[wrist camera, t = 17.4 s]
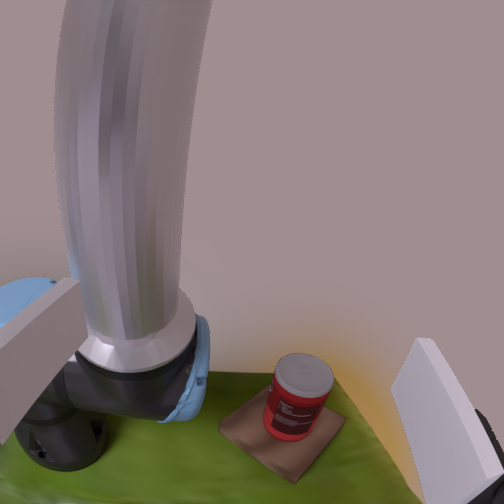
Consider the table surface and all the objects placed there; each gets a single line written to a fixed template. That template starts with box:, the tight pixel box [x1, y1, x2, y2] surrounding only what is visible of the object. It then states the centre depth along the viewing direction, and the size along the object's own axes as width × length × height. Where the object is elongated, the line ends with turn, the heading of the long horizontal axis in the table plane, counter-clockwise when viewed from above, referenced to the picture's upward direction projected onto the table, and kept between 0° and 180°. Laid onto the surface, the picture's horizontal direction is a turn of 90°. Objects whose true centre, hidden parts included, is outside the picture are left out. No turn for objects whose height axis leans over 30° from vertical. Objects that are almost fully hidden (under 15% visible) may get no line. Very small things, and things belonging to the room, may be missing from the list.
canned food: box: [263, 353, 334, 442], centre depth 38 cm, size 8×8×11 cm
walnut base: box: [218, 384, 347, 484], centre depth 40 cm, size 14×14×2 cm
